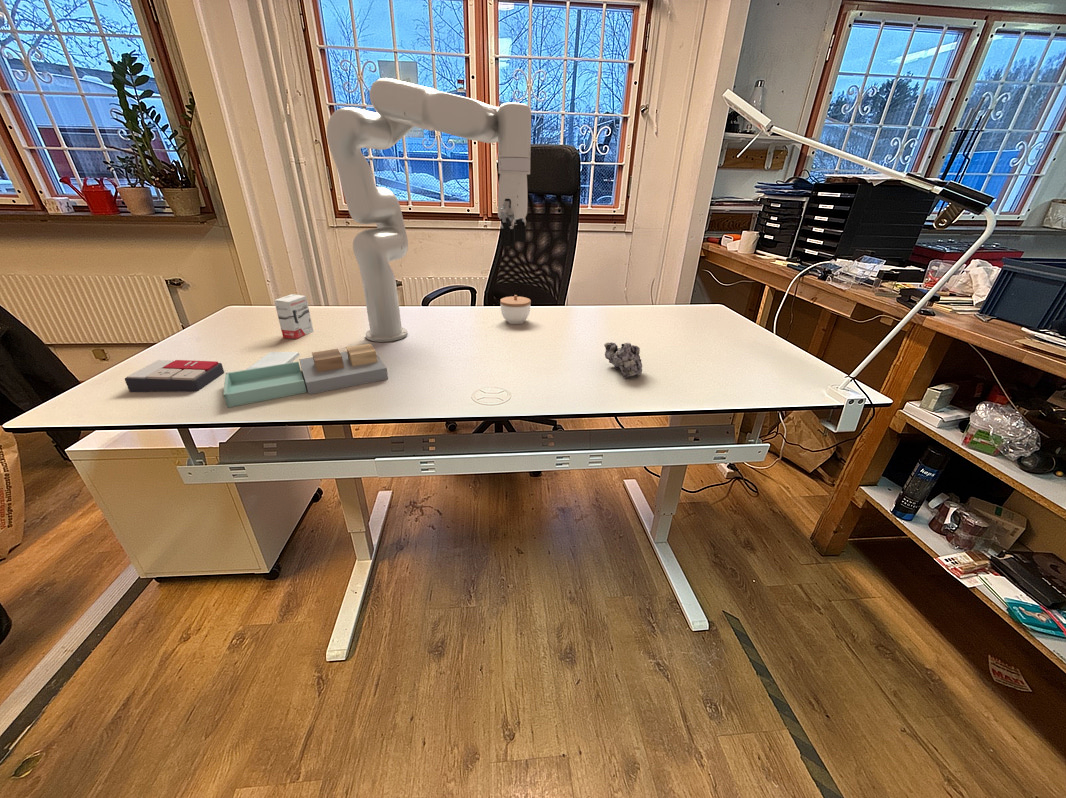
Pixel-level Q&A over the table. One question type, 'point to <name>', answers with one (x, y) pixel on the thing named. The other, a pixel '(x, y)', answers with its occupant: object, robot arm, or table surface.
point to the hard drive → (275, 359)
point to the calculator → (174, 376)
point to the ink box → (294, 316)
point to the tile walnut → (327, 360)
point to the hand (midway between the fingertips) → (514, 243)
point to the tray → (263, 384)
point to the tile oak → (361, 354)
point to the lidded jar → (515, 309)
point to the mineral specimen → (624, 358)
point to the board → (341, 374)
